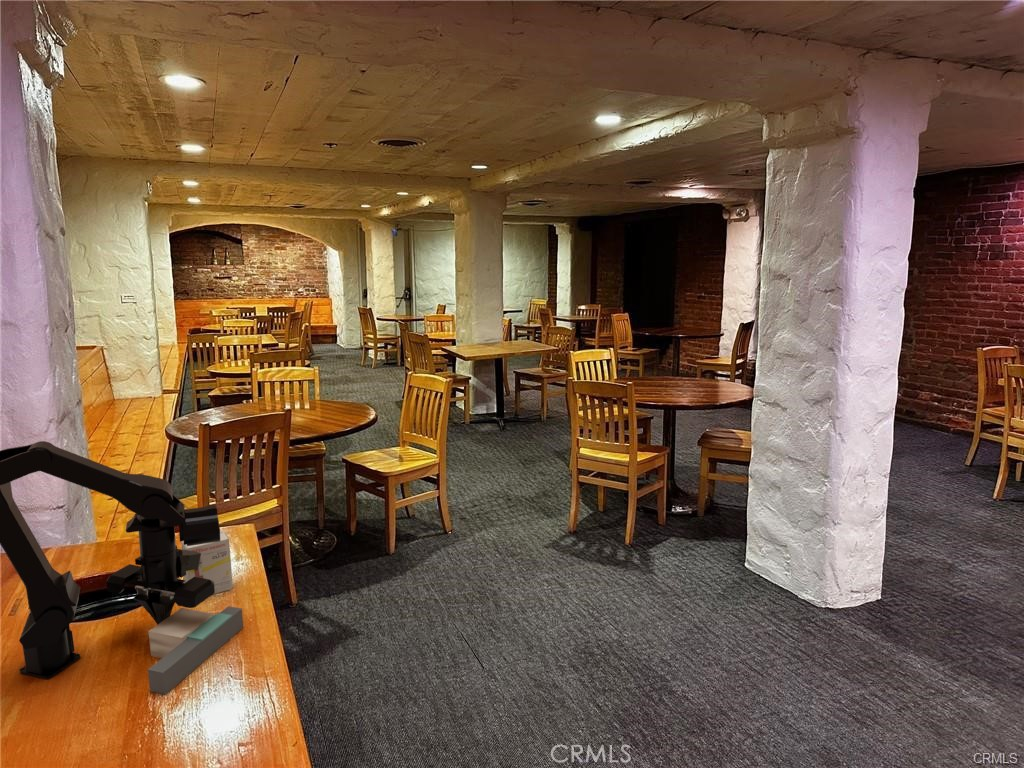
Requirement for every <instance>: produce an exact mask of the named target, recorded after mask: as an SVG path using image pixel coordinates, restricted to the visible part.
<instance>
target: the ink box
mask: <svg viewBox="0 0 1024 768" xmlns="http://www.w3.org/2000/svg"><path fill="white" fill-rule="evenodd" d="M229 538H230V537H229V536H228V534H227V533H226V532H225V530H220V541H219V542H212V543H205V544H199V545H192V546H187V544H186V545H184V540H183V541H180V542H181V550H188V551H194V552H199V553H201V557H200V563H199V568H198V570H189V571H186V575H185V576H183V580H185V581H186V582H187V581H189V580H190V579H192V578H193V577H199V578H204V579H209V580H212V581H213V582H214V589H215V593H214V594H213V595H215V594H219V593H223V592H226V591H229V590H232V589H233V588H234V584H233V572H232V559H231V548H230V539H229ZM186 582H185V583H186Z"/></svg>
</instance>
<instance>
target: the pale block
mask: <svg viewBox="0 0 1024 768" xmlns="http://www.w3.org/2000/svg"><path fill="white" fill-rule="evenodd" d="M212 616H214V613H213V612H207V611H202V610H196V609H192V608H186V607H183V608H182V607H180V608H178V610H176V611H175V612H173V613H171V615H170V616H169V617H168V618H166V619H165V620H164V621H162V622H161V623H159V624H156V625H155V626H154V627H152V628H151V629H150V630H148V632H147V633H148V641H149V649H150V656H151V657H155V658H160V659H162V658H163V657H164V656H166V655H167V654H168V653H170V652H171V651H172V650H173V649H175V648H176V647H177V646H178V645H180V644H181V643H182V642H183V641H185V640H186V639H187V636H188V635H189V634H191V633H192V632H193V631H194V630H196V629H197V628H198V627H199V626H201V625H202V624H203V623H205V622H206V621H207V620H208V619H210V618H211V617H212Z"/></svg>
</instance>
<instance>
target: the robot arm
mask: <svg viewBox="0 0 1024 768" xmlns="http://www.w3.org/2000/svg"><path fill="white" fill-rule="evenodd" d="M38 472H42V473H45V474H48V475H50V476H53V477H55V478H59V479H61V480H64V481H67V482H69V483H71V484H75V485H78V486H80V487H83V488H85V489H89V490H91V491H94V492H97V493H100V494H102V495H105V496H107V497H111V498H112V499H114V500H116V501H117V502H118V503H120V504H121V505H122V506H123V507H125V509H127V510H129V511H131V512H133V513H134V514H133V517H132V518H131V519H130V520H129V521H126V525H125V526H126V527H125V532H126V533H127V534H128V533H129V534H130V533H136V532H137V533H138V541H139V542H138V544H139V553H140V554H139V556H138V557H137V558H135V559H134V563H135V564H130V563H129V564H127V565H126V566H124V567H122V568H120V569H118V570H116V571H115V572H112V573H111V574H110V575H108V578H107V579H106V591H107V592H109V593H115V594H121V593H122V592H124V590H125V589H126V587H125V584H128V585H132V586H134V589H135V590H136V592H137V593H136V595H134V597H133V600H134V601H136V602H138V603H139V604H140V605H141V606H142V607H143V609H145V611H146V612H147V613H148V614H149V615H150V617H151V618H152V619H153V621H154V622H155V623H156V625H158V624H159V623H161V622H162V621H164V620H165V619H166V618H168V617H169V616H171V615H172V612H173V608H174V606H175V604H176V605H177V606H178V607H181V608H182V607H183V608H186V609H193V608H194V609H195V608H196V607H197V606H199V605H200V604H202V603H203V602H204V601H206V600H207V599H208V598H210V597H211V596H212V595H215V594H214V593H215V589H214V582H213V581H212V580H209V579H204V578H199V577H193V578H192V579H190V580H189V581H187V582H186V581H185V580H184V579H180V578H184V576H185V575H186V571H189V570H198V568H199V563H200V557H201V553H199V552H194V551H188V550H182V548H181V549H180V548H178V546H177V543H176V530H175V527H178V533H179V542H182V541H183V540H184V545H186V544H187V546H192V545H199V544H205V543H212V542H219V541H220V531H221V526H220V521H219V516H218V505H217V504H210V505H206V506H202V507H196V508H195V507H194V508H186V506H185V504H184V503H183V502H182V501H181V500H180V499H179V498H178V497H177V496H176V495H175V494H174V493H173V491H174V490H173V488H172V485H171V483H170V482H168V481H167V480H165V479H163V478H160V477H156V476H153V475H152V476H151V475H147V474H141V473H140V474H138V473H129V472H123V471H121V470H118V469H116V468H112V467H111V466H110V467H109V466H107V465H105V464H102V463H101V462H97V461H94V460H92V459H89V458H86V457H84V456H81V455H78V454H76V453H74V452H71V451H68V450H67V449H63V448H61V447H58V446H56V445H54V444H53V443H51V442H49V441H45V440H43V441H36V442H34V443H31V444H28V445H21V446H14V447H8V448H4V449H1V450H0V546H1V548H2V549H3V551H4V553H5V555H6V556H7V558H8V560H9V561H10V563H11V564H12V566H13V568H14V570H15V571H16V573H17V575H18V576H19V578H20V580H21V582H22V583H23V585H24V587H25V591H26V598H27V604H28V610H29V613H28V615H27V617H26V621H25V624H24V626H23V629H22V632H21V634H20V637H19V639H18V641H19V642H20V645H22V652H23V658H24V663H25V665H24V666H22V667H21V668H19V670H18V672H19V674H23V675H27V676H33V677H37V678H41V679H47V680H48V679H51V678H53V677H54V676H56V675H57V674H58V673H60V672H61V671H63V670H64V669H66V668H67V667H69V666H70V665H72V664H73V663H74V662H76V661H78V660H79V659H81V654H80V653H77V652H75V651H76V650H75V643H74V635H73V630H71V629H70V628H71V627H70V624H71V623H72V622H73V620H74V618H75V614H76V610H77V608H78V604H79V603H78V602H79V599H80V597H79V596H80V590H81V588H82V587H81V586H79V584H77V583H76V582H75V580H74V578H73V574H72V571H71V570H67V571H66V572H64V573H63V574H61V573H60V572H59V571H57V570H55V569H54V568H53V566H52V564H51V563H50V561H49V559H48V558H47V556H46V554H45V552H44V551H43V549H42V547H41V545H40V544H39V542H38V540H37V538H36V537H35V535H34V534H33V531H32V530H31V528H30V526H29V524H28V522H27V521H26V519H25V517H24V515H23V513H22V512H21V511H20V509H19V507H18V505H17V504H16V502H15V499H14V496H13V490H12V482H13V481H16V480H18V479H20V478H23V477H25V476H26V477H27V476H28V475H31V474H34V473H38ZM185 582H186V583H185Z"/></svg>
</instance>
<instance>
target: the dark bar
mask: <svg viewBox="0 0 1024 768" xmlns="http://www.w3.org/2000/svg"><path fill="white" fill-rule="evenodd" d="M243 619H244V618H243V608H240V607H236V606H227V607H225V608H223V610H221V611H220V612H216V613H215V614H213V616H212V617H211V618H210V619H208V620H207V621H206V622H205V623H203V624H202V625H201V626H199V627H198V628H197V629H196V630H194V631H193V632H192V633H191V634H189V635H188V636H187V639H186V640H185V641H183V642H182V643H181V644H180V645H178V646H177V647H176V648H175V649H173V650H172V651H171V652H170V653H168V654H167V655H166V656H164V657H163V658H160V659H159V660H158V661H157V662H155V663H154V664H153V665H152V666H151V667H149V668H148V669H147V674H148V676H147V677H148V685H149V691H150V692H152V693H157V694H161V695H167V694H168V693H169V692H170V691H171V690H173V689H174V688H175V687H177V685H178V684H180V683H181V682H182V681H183V680H184V679H185V678H186V677H188V676H189V675H190V674H191V673H192V672H194V671H195V670H196V669H197V668H198V667H199V666H200V665H202V664H203V663H204V662H205V661H206V660H207V659H208V658H210V657H211V656H212V655H213V654H214V653H216V652H217V651H218V650H219V649H220V648H221V647H222V646H224V645H225V644H226V643H227V642H228V641H230V639H232V638H233V637H234V636H235V635H236V634H238V632H240V631H241V630H242V629H244V620H243Z"/></svg>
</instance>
